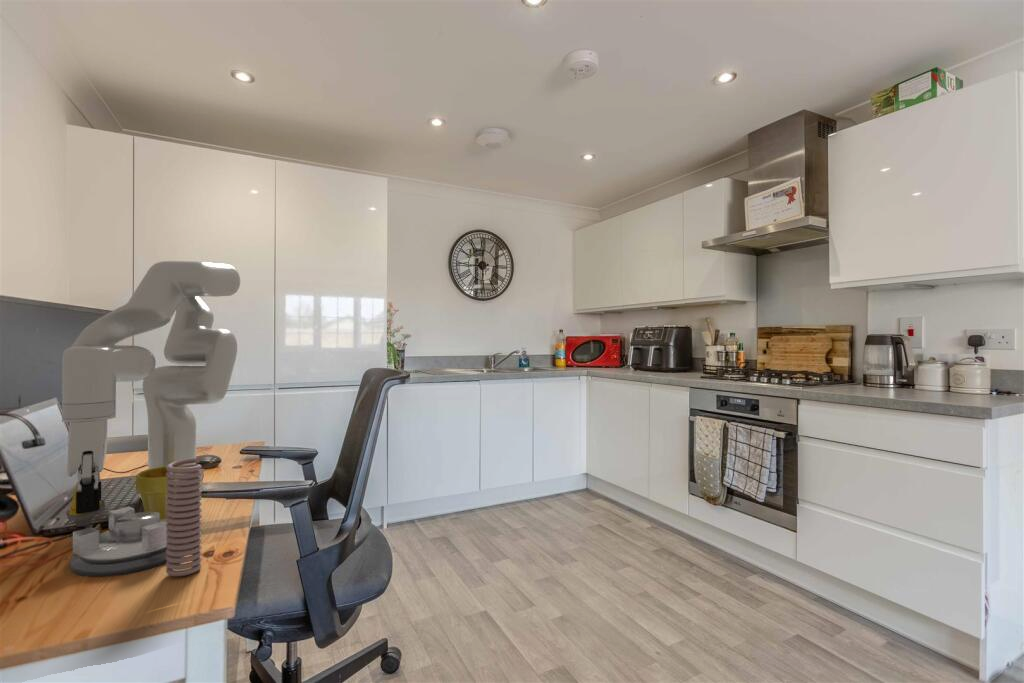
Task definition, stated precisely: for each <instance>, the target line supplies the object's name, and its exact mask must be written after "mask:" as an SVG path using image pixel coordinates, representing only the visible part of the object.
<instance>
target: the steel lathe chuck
mask: <svg viewBox="0 0 1024 683" xmlns="http://www.w3.org/2000/svg"><path fill="white" fill-rule="evenodd" d="M173 512H175V511H173ZM166 524H167V521H166V519H162V520H160V514H159V512H155V511H147V512H145V511H140V512H139V511H138V512H135V508H133V507H132V506H125V507H121V508H117V509H113V510H108V530H106V531H105V530H104V532H100V530H98V529H97V528H95V527H92V526H91V527H87V528H83V529H80V530H76V531H72V552H73V553H75V554H77V555H78V556H79V559H81V560H82V561H84V562H89V563H113V562H121V561H127V560H132V559H137V558H141V557H145V556H149V555H152V554H155V553H158V552H161V551H164V550H166V549H167V547H166V543H167V540H166V536H167V534H166V530H167V528H166ZM172 525H173V524H172ZM190 531H191V530H190ZM186 538H188V537H186ZM172 544H173V543H172Z"/></svg>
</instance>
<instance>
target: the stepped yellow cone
mask: <svg viewBox="0 0 1024 683" xmlns="http://www.w3.org/2000/svg"><path fill="white" fill-rule="evenodd" d="M76 492H78V481H77V482H76V485H75V489H74V493H73V496H72V501H71V503H70V507H69V509H68V510H67V511H66V513H65V514H66V518H67V520H68V521H72V522H74V523H75V527H85V526H91V523H92V521H93V520H94V519H95V518H96V516H97V515H100V514H101V513H102V512H103V511H104V510H105V509H106V503H105V501H104V500H103V499H101V500H100V508H99V510H98V511H93V512H87V513H81V514H77V513H76Z"/></svg>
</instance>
